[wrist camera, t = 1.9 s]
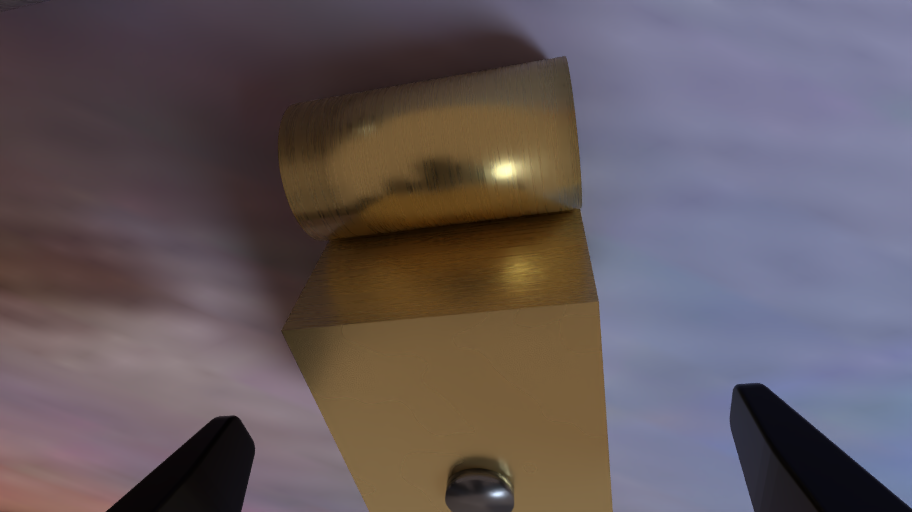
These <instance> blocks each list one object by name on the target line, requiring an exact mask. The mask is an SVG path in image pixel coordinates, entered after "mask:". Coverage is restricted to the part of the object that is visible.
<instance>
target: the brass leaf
mask: <svg viewBox="0 0 912 512" xmlns="http://www.w3.org/2000/svg"><path fill="white" fill-rule="evenodd" d="M278 158H279V167H280V173H281V179H282V183H283V187H284V191H285V194H286V197H287V200H288V203H289V205H290V208H291V210H292V212H293V214H294V216H295V218H296V220H297V221H298V223H299V224H300V226H301V227H302V229H303V230H304V231H305V232H306V233H307V234H308V235H309V236H310V237H312V238H313V239H315V240H318V241H324V240H329V242H328V244H327V246H326V248H325V250H324V251H323V253H322V255H321V257H320V259H319V261H318V263H317V265H316V266H315V268H314V270H313V272H312V274H311V276H310V278H309V280H308V282H307V283H306V285H305V287H304V289H303V291H302V293H301V295H300V297H299V298H298V300H297V302H296V304H295V306H294V308H293V310H292V312H291V313H290V315H289V317H288V319H287V321H286V323H285V325H284V327H283V328H282V330H281V331H282V333H283V335H284V337H285V340H286V342H287V344H288V346H289V348H290V350H291V352H292V354H293V356H294V358H295V360H296V362H297V364H298V366H299V368H300V370H301V372H302V374H303V376H304V378H305V381H306V383H307V385H308V387H309V389H310V391H311V393H312V395H313V397H314V399H315V401H316V403H317V405H318V407H319V409H320V411H321V413H322V415H323V417H324V419H325V422H326V424H327V426H328V428H329V430H330V432H331V434H332V436H333V438H334V440H335V442H336V444H337V446H338V448H339V450H340V452H341V454H342V456H343V458H344V460H345V463H346V465H347V467H348V469H349V471H350V473H351V475H352V477H353V479H354V481H355V483H356V485H357V487H358V489H359V491H360V493H361V495H362V497H363V499H364V501H365V503H366V506H367V508H368V510H369V512H613V510H612V495H611V480H610V465H609V450H608V435H607V420H606V404H605V389H604V374H603V359H602V344H601V329H600V314H599V301H598V296H597V291H596V286H595V281H594V276H593V271H592V266H591V261H590V256H589V251H588V246H587V241H586V236H585V231H584V226H583V222H582V217H581V212H580V209H581V207H582V188H581V171H580V158H579V147H578V136H577V127H576V118H575V109H574V101H573V93H572V86H571V79H570V73H569V67H568V62H567V58H566V56H563V57H557V58H552V59H546V60H540V61H535V62H529V63H523V64H517V65H512V66H506V67H500V68H495V69H489V70H483V71H478V72H472V73H466V74H460V75H455V76H449V77H443V78H438V79H432V80H426V81H420V82H415V83H409V84H403V85H398V86H392V87H386V88H381V89H375V90H369V91H363V92H358V93H352V94H346V95H341V96H335V97H329V98H324V99H318V100H312V101H306V102H301V103H295V104H292V105H291V106H290V107H288V109H287V110H286V111H285V113H284V115H283V117H282V120H281V124H280V128H279V136H278Z"/></svg>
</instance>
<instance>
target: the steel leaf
mask: <svg viewBox="0 0 912 512" xmlns="http://www.w3.org/2000/svg"><path fill="white" fill-rule="evenodd" d="M45 1H49V0H0V12H2V11H6V10H11V9H15V8H19V7H23V6H28V5H32V4H36V3H41V2H45Z"/></svg>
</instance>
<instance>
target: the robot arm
mask: <svg viewBox="0 0 912 512" xmlns="http://www.w3.org/2000/svg"><path fill="white" fill-rule="evenodd" d="M730 427H731V431H732V435H733V439H734V442H735V446H736V449H737V453H738V456H739V460H740V463H741V467H742V470H743V474H744V477H745V481H746V484H747V488H748V491H749V495H750V498H751V502H752V505H753V509H754V512H912V509H911V508H910V507H909V506H908V505H907V504H905V503H904V502H903V501H902V500H901V499H900V498H898V497H897V496H896V495H895V494H894V493H892V492H891V491H890V490H889V489H888V488H886V487H885V486H884V485H883V484H882V483H880V482H879V481H878V480H877V479H876V478H875V477H873V476H872V475H871V474H870V473H869V472H867V471H866V470H865V469H864V468H863V467H861V466H860V465H859V464H858V463H857V462H855V461H854V460H853V459H852V458H851V457H850V456H848V455H847V454H846V453H845V452H844V451H842V450H841V449H840V448H839V447H838V446H836V445H835V444H834V443H833V442H832V441H830V440H829V439H828V438H827V437H826V436H825V435H823V434H822V433H821V432H820V431H819V430H817V429H816V428H815V427H814V426H813V425H811V424H810V423H809V422H808V421H807V420H806V419H804V418H803V417H802V416H801V415H800V414H798V413H797V412H796V411H795V410H794V409H792V408H791V407H790V406H789V405H788V404H786V403H785V402H784V401H783V400H782V399H781V398H779V397H778V396H777V395H776V394H775V393H773V392H772V391H771V390H770V389H769V388H767V387H766V386H765V385H763V384H760V383H749V384H738V385H736V386H735V387H734V389H733V393H732V402H731V410H730ZM254 455H255V445H254V441H253V439H252V438H251V436H250V435H249V433H248V431H247V430H246V428H245V426H244V425H243V423H242V421H241V420H240V419H239V418H238V417H237V416H219V417H216V418H214V419H212V420H211V421H210V422H209V423H208V424H206V425H205V426H204V427H203V428H202V429H201V430H199V431H198V432H197V433H196V434H195V435H194V436H193V437H191V438H190V439H189V440H188V441H187V442H186V443H184V444H183V445H182V446H181V447H180V448H179V449H178V450H176V451H175V452H174V453H173V454H172V455H171V456H169V457H168V458H167V459H166V460H165V461H164V462H163V463H161V464H160V465H159V466H158V467H157V468H156V469H154V470H153V471H152V472H151V473H150V474H149V475H148V476H146V477H145V478H144V479H143V480H142V481H141V482H139V483H138V484H137V485H136V486H135V487H134V488H133V489H131V490H130V491H129V492H128V493H127V494H126V495H124V496H123V497H122V498H121V499H120V500H119V501H118V502H116V503H115V504H114V505H113V506H112V507H111V508H109V509H108V510H107V511H106V512H241V510H242V506H243V502H244V497H245V493H246V489H247V485H248V480H249V476H250V472H251V468H252V463H253V459H254Z"/></svg>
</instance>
